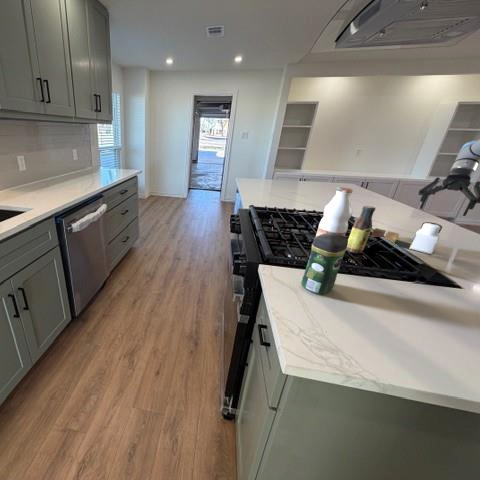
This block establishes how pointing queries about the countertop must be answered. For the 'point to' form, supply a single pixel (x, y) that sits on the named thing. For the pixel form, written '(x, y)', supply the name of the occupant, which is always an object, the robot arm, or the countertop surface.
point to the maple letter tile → (392, 236)
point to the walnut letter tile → (378, 233)
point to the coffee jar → (324, 262)
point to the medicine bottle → (426, 237)
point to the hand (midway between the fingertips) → (442, 210)
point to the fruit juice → (337, 213)
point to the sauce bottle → (361, 230)
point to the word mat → (404, 245)
